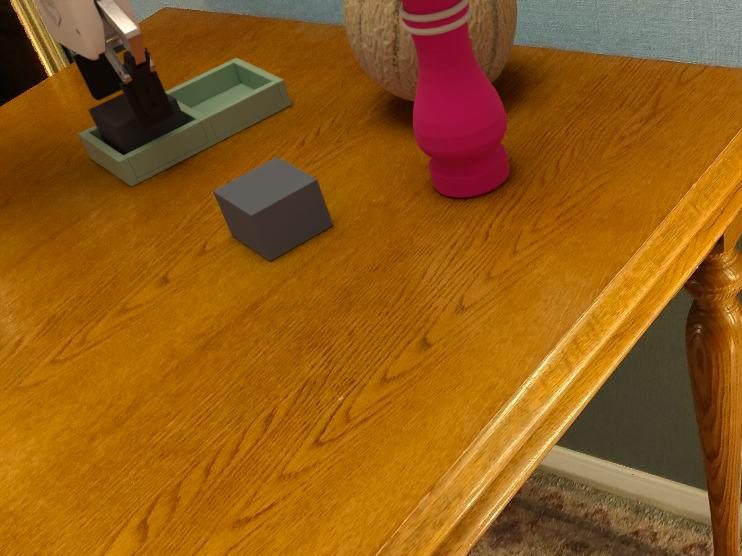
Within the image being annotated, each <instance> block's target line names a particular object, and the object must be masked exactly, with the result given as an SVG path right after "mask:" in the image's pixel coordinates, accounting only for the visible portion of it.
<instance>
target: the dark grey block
mask: <svg viewBox="0 0 742 556" xmlns="http://www.w3.org/2000/svg"><path fill="white" fill-rule="evenodd" d="M166 95H167V97H168V99H169V102H170V104H171V106H172V109H173V111H174V114H173V116H171V117H170V118H168V119H166V120H164V121H161V122H159V123H157V124H155V125H153V126H151V127H149V128H147V129H143V128H141V127H140V126H139V125H138V123H137V121H136V119H135V117H134V115H133V113H132V110H131V108H130V106H129V104H128V102H127V100H126V98H125V95H124V93H123V92H122V93H121V94H118V95H117V96H114V97H112V98H110V99H108V100H106V101H104V102H102V103H100V104H97V105H96V106H94V107H91V108H89V109H88V113H89V115H90V116H91V119H92V121H93V123H94V124H95V125H96V126H97V128H98V130H99V132H100V134H101V136H102V138H103V140H104V142H105V144H107V145H108V146H110V147H111V148H113V149H114V150H116V151H117V152H119V153H120V154H122V155H123V156H124V155H125V154H127V153H129V152H131V151H133V150H135V149H137V148H139V147H141V146H143V145H145V144H147V143H149V142H151V141H153V140H155V139H157V138H159V137H161V136H163V135H166V134H168V133H170V132H172V131H174V130H176V129H178V128H180V127H182V126H184V125H186V124H187V123H186V121H185V118H184V116H183V114H182V111H181V109H180V107H179V104H178V102H177V100H176V98H174V97H172V96H170V95H169V94H167V93H166Z"/></svg>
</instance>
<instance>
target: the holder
mask: <svg viewBox="0 0 742 556" xmlns="http://www.w3.org/2000/svg"><path fill="white" fill-rule="evenodd" d="M165 93H167V94H169V95H170V96H172V97H174V98H176V100H177V102H178V104H179V107H180V109H181V111H182V114H183V116H184V118H185V121H186V123H187V124H186V125H184V126H182V127H180V128H178V129H176V130H174V131H172V132H170V133H168V134H166V135H163V136H161V137H159V138H157V139H155V140H153V141H151V142H149V143H147V144H145V145H143V146H141V147H139V148H137V149H135V150H133V151H131V152H129V153H127V154H125V155H124V156H123V155H122V154H120V153H119V152H117V151H116V150H114V149H113V148H111V147H110V146H108V145H107V144H105V142H104V140H103V138H102V136H101V134H100V132H99V130H98V128H97V126H96V124H95V125H93V126H91V127H88V128H87V129H84V130H83V131H81V132H78V133H77V135H78V137H79V140H80V141H81V143H82V145H83V147H84V149H85V150H86V153H87V154H88V156H89V158H90V159H91V160H92V161H93V162H95V163H96V164H98V165H100V166H101V167H102V168H104V169H105V170H107V171H108V172H109V173H111V174H112V175H114V176H115V177H116V178H118V179H119V180H121V181H122V182H124V183H125V184H127V185H128V186H129V187H130V188H133V187H135V186H137V185H138V184H140V183H142V182H144V181H146V180H147V179H150V178H151V177H154V176H156V175H158V174H160V173H162V172H163V171H166V170H168V169H169V168H172V167H173V166H175V165H177V164H179V163H181V162H183V161H185V160H187V159H188V158H192V156H195V155H197V154H199V153H200V152H203V151H205V150H206V149H208V148H210V147H212V146H214V145H216V144H219V143H220V142H222V141H224V140H226V139H228V138H230V137H232V136H234V135H236V134H238V133H239V132H241V131H244V130H246V129H248V128H250V127H251V126H253V125H255V124H257V123H259V122H261V121H263V120H265V119H267V118H269V117H272V116H273V115H275V114H277V113H279V112H280V111H282V110H285V109H286V108H288V107H290V106H292V105H293V103H292V100H291V97H290V94H289V91H288V88H287V85H286V82H285V80H284V79H283V78H281V77H280V76H277V75H275V74H272V73H271V72H268V71H266V70H264V69H263V68H260V67H257V66H256V65H253V64H251V63H249V62H247V61H245V60H243V59H240V58H238V57H234V58H233V59H231V60H228V61H226V62H224V63H222V64H220V65H218V66H216V67H214V68H211V69H209V70H208V71H206V72H203V73H201V74H199V75H197V76H195V77H193V78H191V79H188V80H186V81H185V82H183V83H180V84H178V85H177V86H174V87H172V88H170V89H168V90H165Z"/></svg>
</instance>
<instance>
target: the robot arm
mask: <svg viewBox="0 0 742 556" xmlns="http://www.w3.org/2000/svg"><path fill="white" fill-rule="evenodd" d="M33 3H34V5H35V7H36V9H37V11H38V13H39V16H40V17H41V21H42V22H43V24H44V26H45V28H46V30H47V32H48V34H49V36H50V37H51V38H52V39H53V40H55V42H58V43H59V44H60V45H62V46H63V47H65V48H66V49H68V50H69V52H70V53H71V54H72V59H73V61H74V64H75V65H76V67H77V69H78V71H79V73H80V75H81V77H82V79H83V82H84V83H85V85H86V88H87V90H88V91H89V93H90V96H91V97H92V99H94V100H96V101H101V100H104V99H105V98H107V97H110V96H112V95H114V94H117V93H118V92H120V91H122V94H123V93H124V95H125V98H126V100H127V102H128V104H129V106H130V108H131V110H132V113H133V115H134V117H135V119H136V121H137V123H138V125H139V126H140V127H141V128H143V129H147V128H149V127H151V126H153V125H155V124H157V123H159V122H161V121H164V120H166V119H168V118H170V117H171V116H173V114H174V111H173V109H172V106H171V104H170V102H169V99H168V97H167V95H166V93H165V92H166V90H165V88H164V86H163V84H162V81H161V79H160V77H159V74H158V72H157V69H156V66H155V63H154V61H153V60H152V59H151V57H150V55H151V53H150V52H149V51H148V50H149V49H148V48H147V47H146V46H145V42H144V38H143V35H142V32H141V28H140V25H139V23H138V20H137V17H136V15H135V11H134V9H133V7H132V4H131V2H130V0H33ZM113 38H115V39H113ZM112 39H113V40H112ZM109 40H111V41H109ZM107 41H108V42H107ZM121 52H123V53H122V55H123V61H122V59H120V57H119V56H118V54H119V53H121Z"/></svg>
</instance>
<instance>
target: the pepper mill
mask: <svg viewBox="0 0 742 556" xmlns="http://www.w3.org/2000/svg"><path fill="white" fill-rule="evenodd" d="M400 1H401V2H402V4H401V5H400V8H399V13H400V15H401V16H402V19H403V22H402V26H403V28H404V29H405V30H406V31H407V32H408V33H411V36H412V38H413V41H414V44H415V48H416V53H417V59H418V84H417V90H416V96H415V102H413V109H412V127H413V133H414V140H415V142H416V144H417V147H419V148H420V150H421V151H422V152H423V154H425V155H426V156H428V157H429V158H430V160H429V161H428V169H429V172H430V177H431V181H432V185H433V188H434V189H435V190H436V191H437V192H438V193H440V194H441V195H442V196H445V197H449V198H453V199H454V198H457V199H468V198H473V197H474V198H475V197H478V196H481V195H485V194H488V193H489V192H492V191H495V190H496V189H497V188H499V187H500V186H501V185H503V183H505V182H506V180H507V178H508V177H509V175H510V172H511V171H510V163H509V158H508V152H507V149H506V147H505V146H504V145H503V143H502V141H503V140H504V138H505V135H506V132H507V129H508V117H507V114H506V110H505V107H504V103H503V101H502V100H501V97H500V95H499V93H498V91H497V90H496V88H495V87H494V85H493V84H492V83H490V81H489V80H488V79H487V77H486V76H485V74H484V73H483V71H482V70H481V68H480V66H479V65H478V62H477V60H476V58H475V56H474V53H473V50H472V46H471V42H470V38H469V31H468V20H469V18H470V17H471V14H472V10H471V8H470V6H469V3H468V2H469V0H400Z"/></svg>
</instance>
